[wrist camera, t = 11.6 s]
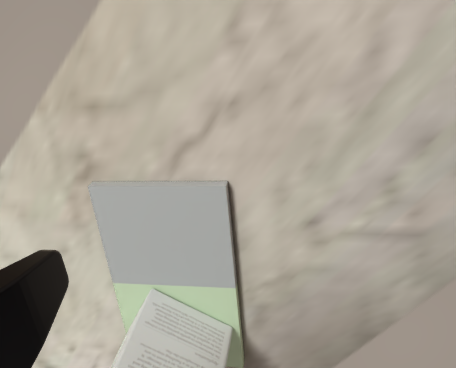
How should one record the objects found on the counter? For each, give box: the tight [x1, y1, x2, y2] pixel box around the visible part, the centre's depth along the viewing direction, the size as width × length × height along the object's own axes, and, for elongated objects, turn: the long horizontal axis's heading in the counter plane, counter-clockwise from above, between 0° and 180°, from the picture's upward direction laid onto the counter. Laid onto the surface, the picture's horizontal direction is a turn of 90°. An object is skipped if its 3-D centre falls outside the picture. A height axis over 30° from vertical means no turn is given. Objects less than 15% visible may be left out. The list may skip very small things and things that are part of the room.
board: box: [88, 181, 244, 368], centre depth 27 cm, size 8×14×1 cm, turn 5°
